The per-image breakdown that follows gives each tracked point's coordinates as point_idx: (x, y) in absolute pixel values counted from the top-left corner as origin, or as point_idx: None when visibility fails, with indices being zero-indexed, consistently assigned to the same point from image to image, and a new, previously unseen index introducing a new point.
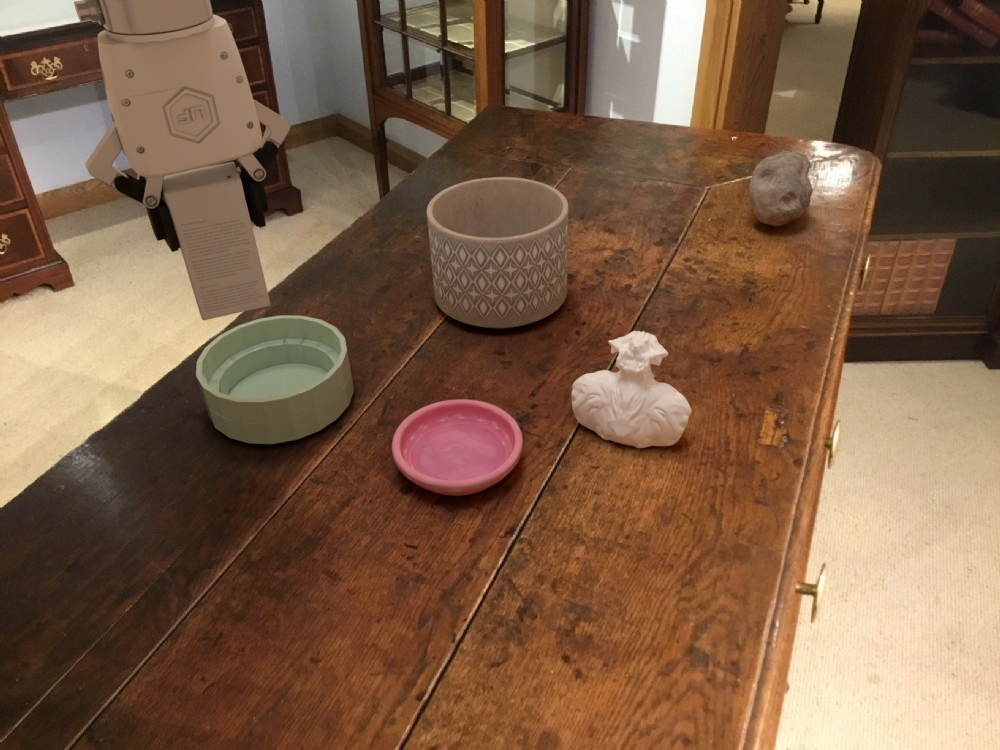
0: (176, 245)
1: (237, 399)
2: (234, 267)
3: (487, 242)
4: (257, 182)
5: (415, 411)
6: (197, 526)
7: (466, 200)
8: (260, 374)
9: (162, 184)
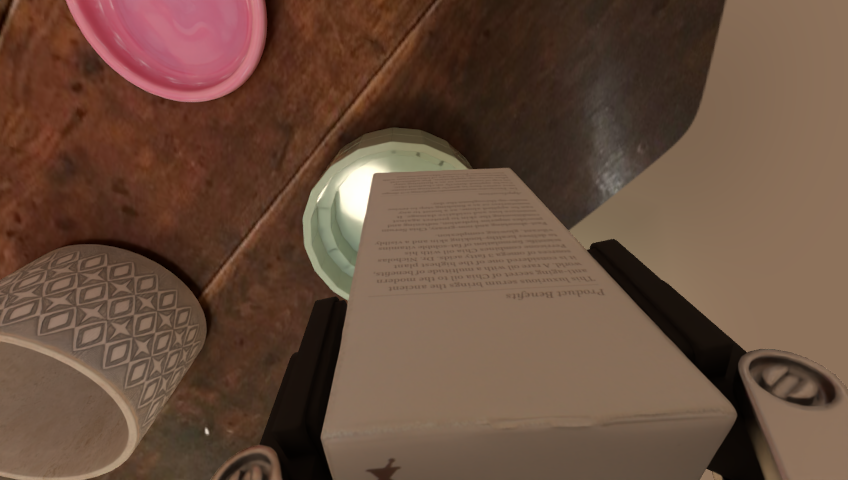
0: (603, 249)
1: (454, 162)
2: (433, 211)
3: (19, 335)
4: (278, 447)
5: (226, 90)
6: (523, 18)
7: (97, 448)
8: None
9: (778, 466)
